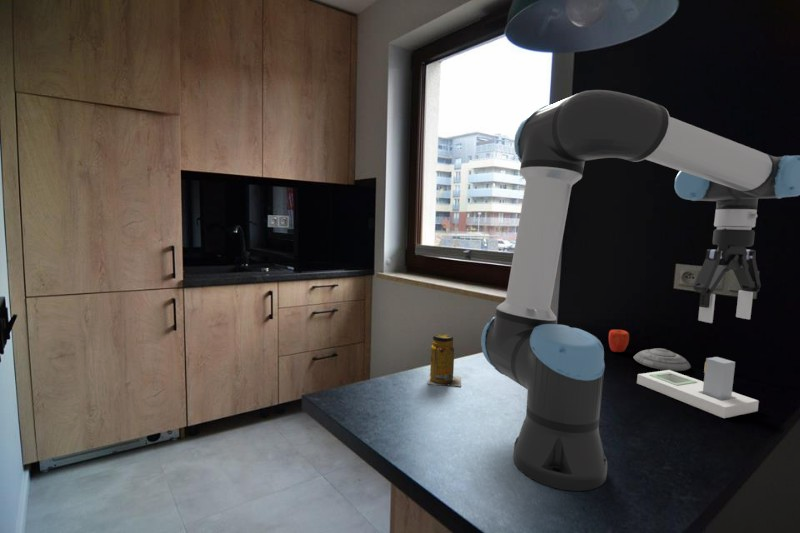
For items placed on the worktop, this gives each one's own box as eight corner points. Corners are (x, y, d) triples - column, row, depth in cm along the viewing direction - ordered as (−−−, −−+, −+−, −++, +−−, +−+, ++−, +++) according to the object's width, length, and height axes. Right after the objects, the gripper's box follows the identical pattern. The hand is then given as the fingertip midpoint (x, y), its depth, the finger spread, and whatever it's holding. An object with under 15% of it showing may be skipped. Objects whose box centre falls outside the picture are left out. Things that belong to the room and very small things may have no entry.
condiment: (429, 375, 118) (431, 331, 117) (460, 377, 117) (462, 333, 116) (427, 384, 111) (429, 338, 110) (461, 387, 110) (463, 341, 109)
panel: (723, 418, 96) (725, 406, 96) (636, 383, 116) (637, 373, 116) (757, 411, 101) (758, 399, 100) (668, 378, 121) (669, 369, 121)
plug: (719, 409, 101) (724, 363, 100) (698, 401, 105) (703, 357, 104) (730, 407, 102) (735, 362, 101) (709, 399, 107) (714, 356, 106)
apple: (623, 355, 142) (625, 333, 141) (604, 351, 146) (605, 329, 146) (631, 352, 146) (632, 330, 145) (612, 348, 150) (614, 326, 150)
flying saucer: (622, 359, 139) (623, 342, 138) (664, 358, 141) (665, 341, 141) (657, 375, 124) (658, 356, 124) (703, 374, 126) (704, 355, 126)
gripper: (715, 227, 91) (705, 327, 93) (786, 230, 101) (775, 320, 103) (680, 227, 98) (672, 319, 100) (749, 229, 108) (740, 313, 110)
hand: (724, 319), depth 102 cm, fingers open, 13 cm apart
